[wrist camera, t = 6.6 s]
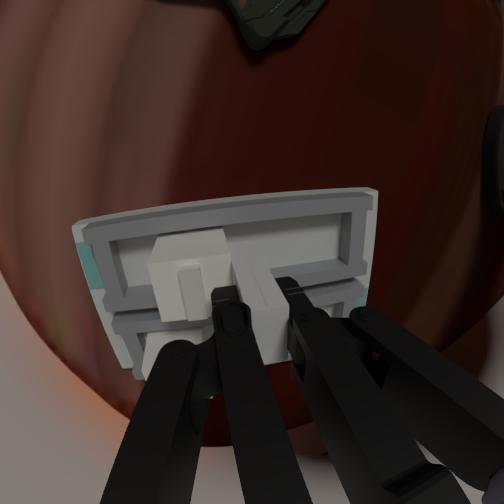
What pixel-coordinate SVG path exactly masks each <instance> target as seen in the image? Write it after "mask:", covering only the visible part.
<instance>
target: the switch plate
mask: <svg viewBox="0 0 504 504" xmlns="http://www.w3.org/2000/svg"><path fill="white" fill-rule="evenodd" d="M377 203H378V191H377V190H374V189H371V188H368V187H362V188H338V189H320V190H304V191H290V192H278V193H266V194H256V195H245V196H236V197H226V198H218V199H209V200H201V201H193V202H186V203H178V204H171V205H164V206H158V207H151V208H145V209H139V210H132V211H126V212H121V213H115V214H109V215H104V216H99V217H93V218H88V219H83V220H79V221H78V222H76V223H75V224H74V225H73V226H71V227H72V231H73V235H74V239H75V243H76V247H77V250H78V254H79V257H80V261H81V264H82V268H83V271H84V274H85V277H86V280H87V283H88V286H89V289H90V292H91V295H92V298H93V300H94V303H95V306H96V309H97V311H98V314H99V316H100V319H101V321H102V324H103V326H104V329H105V331H106V333H107V336H108V338H109V340H110V343H111V345H112V347H113V349H114V351H115V354H116V356H117V358H118V360H119V362H120V364H121V366H122V368H133V369H132V373H133V375H134V377H135V379H136V380H145V378H144V376H143V373H142V371H141V370H142V364H143V358H144V352H145V346H146V341H147V335H148V332H154V331H164V330H174V329H182V328H191V327H199V326H203V330H204V335H205V340H207V339H209V338H210V337H211V336H212V335H213V333H214V327H213V321H212V316H210V317H208V319H203V320H195V321H188V319H186V320H177V321H169V322H162V320H161V316H160V313H159V309H158V305H157V302H156V298H155V294H154V290H153V286H152V282H151V278H150V274H149V270H148V266H147V263H148V261H149V258H150V255H151V253H152V250H153V248H154V245H155V242H156V240H157V237H158V235H159V234H160V233H167V232H174V231H181V230H189V229H197V228H204V227H212V226H220V225H222V227H223V230H224V234H225V237H226V241H227V244H229V243H236V242H244V241H252V240H253V241H254V243H255V245H256V247H257V248H258V250H259V252H260V254H261V256H262V257H263V259H264V261H265V263H266V264H267V266H268V268H269V270H270V272H271V273H272V275H273V277H274V278H280V277H286V276H289V277H291V278H293V279H294V280H296V281H297V282H298V284H299V285H300V288H302V290H303V291H304V292H305V294H306V295H307V297H308V298H309V300H310V301H311V303H312V304H313V306H314V307H318V308H320V309H323V310H324V311H326V312H327V313H328V315H329V316H330V317H336V318H344V317H349V314H350V312H351V310H352V309H354V308H356V307H359V306H365V305H366V299H367V293H368V287H369V281H370V274H371V266H372V258H373V250H374V241H375V230H376V218H377ZM288 360H292V358H291V355H290V353H289V351H288ZM288 360H285V361H288ZM280 362H284V361H280ZM275 363H279V362H275ZM270 364H274V363H270ZM265 365H268V364H265Z"/></svg>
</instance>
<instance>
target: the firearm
mask: <svg viewBox="0 0 504 504" xmlns="http://www.w3.org/2000/svg"><path fill="white" fill-rule="evenodd" d="M325 1H326V0H225V2H226V3H227V5H228V7H229V8H230V10H231V11H232V13H233V15H234V16H235V18H236V20H237V21H238V22H237V25H238V27H239V30H240V32H241V34H242V36H243V38H244V39H245V41H246V43H247V45H248V46H249V47H250V48H251V49H253V50H257V51H259V50H262V49H263V48H265V47H266V46H267V45H268V44H269V43H270V42H271V41H272V40H273V41H276V40H280V39H285V38H288V37H294V36H296V35H297V34H298V33H299V32H300V31H301V30H302V29H303V27H304V26H305V25H306V24H307V23H308V21H309V20H310V19H311V18H312V17H313V15H314V14H315V13H316V12H317V11H318V9H319V8H320V7H321V6H322V4H323V3H324V2H325Z"/></svg>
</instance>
